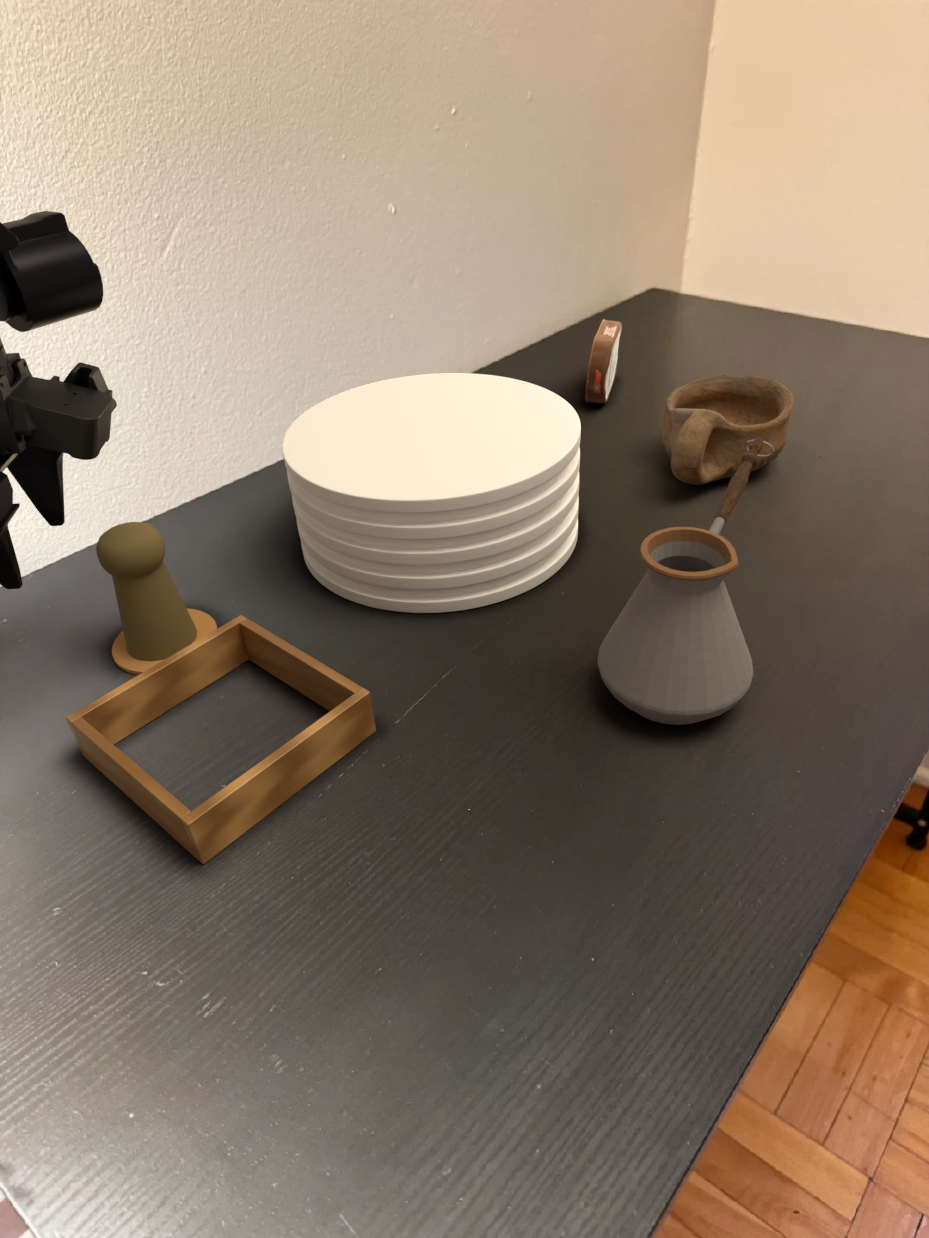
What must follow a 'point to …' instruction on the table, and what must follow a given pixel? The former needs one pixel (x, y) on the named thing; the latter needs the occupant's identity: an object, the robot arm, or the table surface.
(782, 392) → the brown clay mug
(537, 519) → the plate stack
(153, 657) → the pepper shaker
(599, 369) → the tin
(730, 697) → the coffee pot
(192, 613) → the coaster
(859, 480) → the table surface
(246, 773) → the wooden frame
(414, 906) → the table surface
